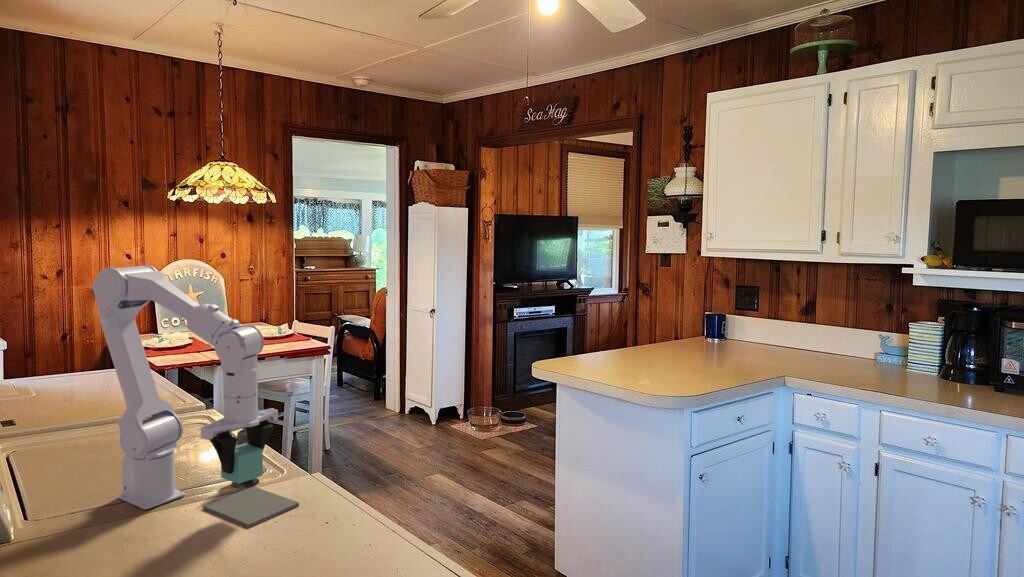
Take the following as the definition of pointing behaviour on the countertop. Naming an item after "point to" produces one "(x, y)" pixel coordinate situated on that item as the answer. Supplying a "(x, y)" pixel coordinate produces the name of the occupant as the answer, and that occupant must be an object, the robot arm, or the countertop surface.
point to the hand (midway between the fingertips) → (241, 467)
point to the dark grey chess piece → (242, 439)
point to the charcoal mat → (251, 506)
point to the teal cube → (245, 464)
